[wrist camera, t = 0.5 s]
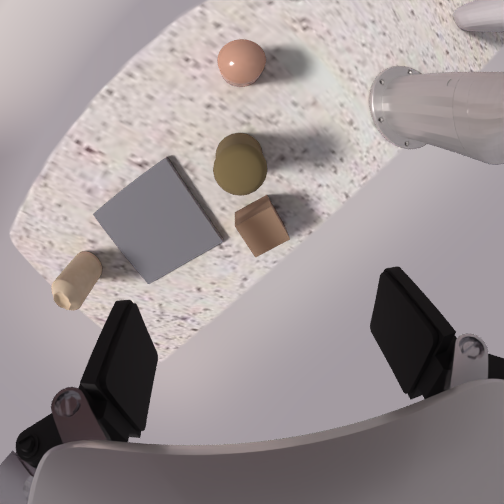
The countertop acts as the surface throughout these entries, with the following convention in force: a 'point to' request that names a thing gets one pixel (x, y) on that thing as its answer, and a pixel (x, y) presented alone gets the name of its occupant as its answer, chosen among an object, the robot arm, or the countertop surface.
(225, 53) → the peach blob
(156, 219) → the slate tile
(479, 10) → the soap bottle
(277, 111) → the countertop surface
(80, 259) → the candle
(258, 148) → the olive tall rounded piece
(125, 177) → the countertop surface
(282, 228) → the walnut block
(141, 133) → the countertop surface
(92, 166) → the countertop surface
